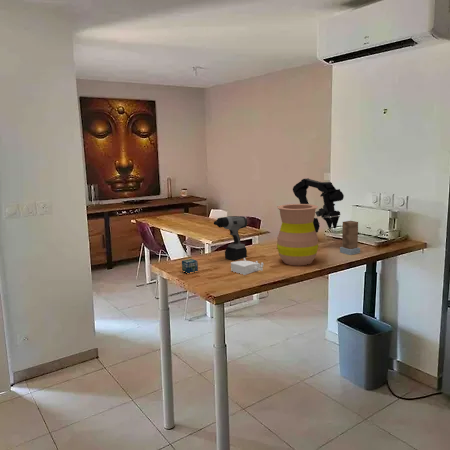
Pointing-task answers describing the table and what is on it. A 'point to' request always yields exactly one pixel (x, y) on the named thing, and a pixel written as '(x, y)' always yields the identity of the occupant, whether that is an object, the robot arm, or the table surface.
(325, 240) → the table surface
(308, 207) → the vase
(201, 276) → the table surface
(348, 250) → the plinth
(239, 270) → the white box with fittings
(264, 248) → the table surface
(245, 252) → the cordless drill
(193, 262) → the puzzle
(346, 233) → the post
